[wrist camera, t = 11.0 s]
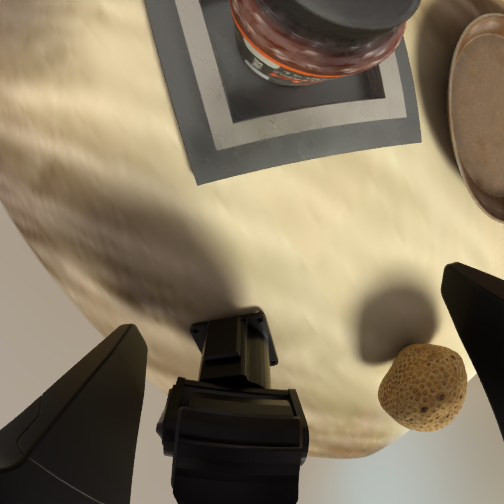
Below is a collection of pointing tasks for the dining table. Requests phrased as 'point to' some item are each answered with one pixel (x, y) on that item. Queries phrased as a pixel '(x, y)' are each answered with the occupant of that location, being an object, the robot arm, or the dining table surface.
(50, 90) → the dining table surface
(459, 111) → the plant saucer
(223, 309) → the dining table surface
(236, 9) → the supplement bottle
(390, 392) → the natural sponge
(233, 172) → the grey square tray
